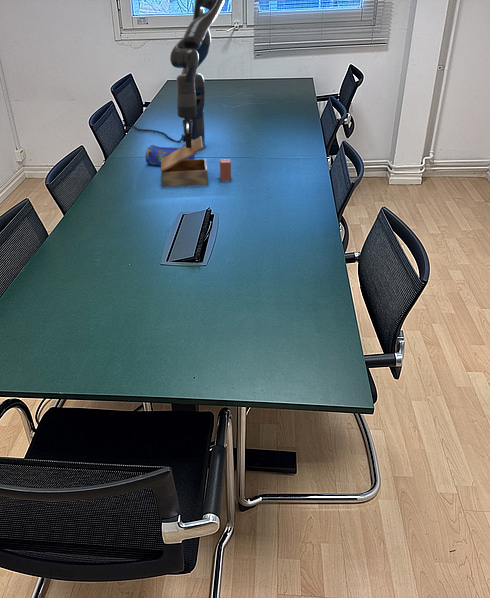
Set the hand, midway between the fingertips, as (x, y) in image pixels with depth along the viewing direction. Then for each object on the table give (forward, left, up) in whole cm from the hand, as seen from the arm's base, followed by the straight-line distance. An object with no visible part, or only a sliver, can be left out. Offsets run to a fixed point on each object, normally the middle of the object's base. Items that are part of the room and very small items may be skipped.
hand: (188, 147), depth 223 cm
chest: (-1, -2, -14) cm, 15 cm away
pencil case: (-19, 0, -15) cm, 24 cm away
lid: (-1, -3, -3) cm, 4 cm away
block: (+8, +13, -14) cm, 21 cm away
